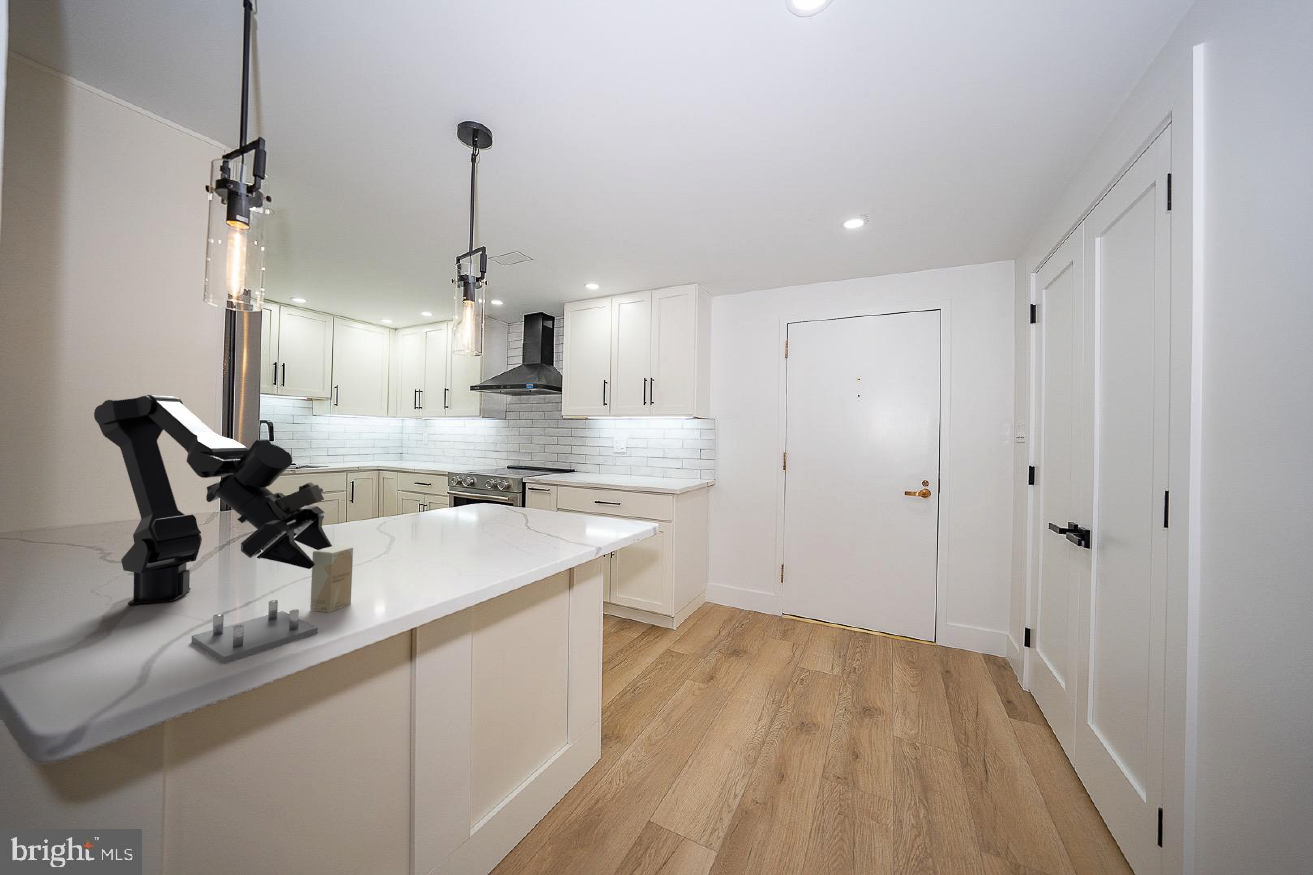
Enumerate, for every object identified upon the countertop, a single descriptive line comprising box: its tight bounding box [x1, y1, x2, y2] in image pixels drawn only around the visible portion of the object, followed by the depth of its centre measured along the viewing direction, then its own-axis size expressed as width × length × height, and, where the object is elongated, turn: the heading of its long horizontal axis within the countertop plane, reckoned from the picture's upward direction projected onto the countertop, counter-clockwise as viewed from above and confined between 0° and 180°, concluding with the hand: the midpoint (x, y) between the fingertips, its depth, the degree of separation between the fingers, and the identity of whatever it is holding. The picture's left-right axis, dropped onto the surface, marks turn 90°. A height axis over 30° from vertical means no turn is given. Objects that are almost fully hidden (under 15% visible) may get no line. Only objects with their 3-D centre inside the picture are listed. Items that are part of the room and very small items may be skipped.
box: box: [309, 545, 354, 613], centre depth 89 cm, size 5×4×11 cm
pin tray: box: [191, 599, 319, 665], centre depth 75 cm, size 12×12×4 cm
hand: (323, 559), depth 88 cm, fingers open, 9 cm apart
